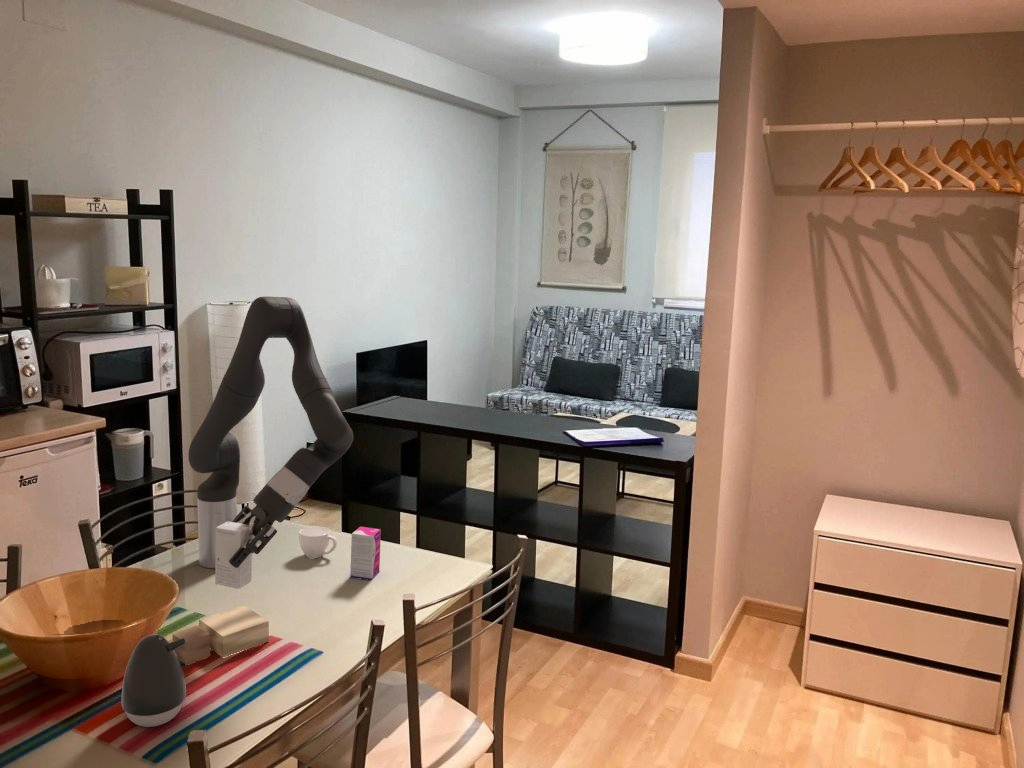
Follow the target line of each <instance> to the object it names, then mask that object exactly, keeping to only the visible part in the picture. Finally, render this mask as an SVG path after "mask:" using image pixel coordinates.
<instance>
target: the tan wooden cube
mask: <svg viewBox="0 0 1024 768" xmlns="http://www.w3.org/2000/svg"><path fill="white" fill-rule="evenodd" d="M171 637H172V642H173V641H176V640H179V639H182V638H184V639H185V641H186V643H185V644H184V645H182V646H180V647H178V648H176V649H174V650H175V652H176V654H177V656H178V659H179V660H181V661H182V662H183V663H185V664H187V665H188V664H191V663H193V662H196V661H198V660H201V659H203V658H206V657H208V656H210V657H211V649H210V634H209V633H208V632H206V631H204V630H203V629H201V628H199V626H198V625H193V626H192V627H188V628H185V629H183V630H180V631H178V632H174V633H172V635H171ZM206 659H207V658H206ZM201 661H202V660H201ZM183 663H182V664H183ZM196 663H197V662H196ZM191 665H192V664H191Z"/></svg>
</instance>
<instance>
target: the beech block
mask: <svg viewBox="0 0 1024 768" xmlns="http://www.w3.org/2000/svg"><path fill="white" fill-rule="evenodd" d="M198 627H199V628H201V629H203V630H204V631H206V632H208V633H209V634H210V648H211V649H213V650H214V651H215V652H217V653H218V654H219V655H221V656H222V657H226V656H229V655H231V654H234V653H237V652H240V651H242V650H245V649H249V648H252V647H254V646H257V645H260V644H263V643H266V642H269V643H270V629H269V628H270V622H269V620H268V619H266V618H265V617H263V616H261V615H260V614H259V613H257V612H256V611H254V610H253V609H251V608H250V607H248V606H246V605H245V604H243V605H240V606H235V607H233V608H229V609H227V610H223V611H220V612H217V613H214V614H210V615H208V616H204V617H201V618H198ZM266 644H267V643H266ZM263 645H264V644H263ZM260 646H261V645H260ZM211 649H210V650H211ZM252 649H253V648H252ZM249 650H250V649H249ZM214 651H213V652H214ZM215 652H214V653H215ZM218 654H217V655H218ZM219 655H218V656H219ZM222 657H221V658H222Z"/></svg>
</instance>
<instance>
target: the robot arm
mask: <svg viewBox="0 0 1024 768" xmlns="http://www.w3.org/2000/svg"><path fill="white" fill-rule="evenodd" d="M248 307H249V308H248V310H247V312H246V315H245V318H244V321H243V326H242V327H241V331H240V335H239V338H238V342H237V345H236V346H235V347H236V348H235V350H234V352H233V355H232V357H231V359H230V363H229V364H228V367H227V369H226V371H225V373H224V374H223V378H222V379H221V383H220V385H219V387H218V390H217V392H216V394H215V397H214V399H213V402H212V403H211V405H210V408H209V410H208V412H207V414H206V416H205V417H204V420H203V421H202V423H201V425H200V426H199V428H198V429H197V431H196V433H195V434H194V436H193V438H192V440H191V442H190V444H189V448H188V453H187V455H188V462H189V463H188V464H189V466H190V467H191V468H192V470H193V471H194V472H196V473H199V474H209V473H211V474H210V475H209V477H208V478H207V479H205V480H204V481H203V482H201V483H200V484H199V485H198V487H197V490H196V491H197V493H196V494H197V495H196V496H197V497H196V498H197V499H196V500H197V525H198V526H197V527H198V563H199V565H200V566H201V567H203V568H207V569H215V558H216V557H215V556H216V527H218V526H220V525H222V524H224V523H225V522H228V521H229V522H234V523H242V524H245V525H249V528H248V530H247V532H246V534H245V538H246V539H245V541H244V543H243V545H242V547H243V548H242V547H240V548H239V549H238V551H237V552H236V553H235V554H234V555H233V556H232V557H231V559H230V560H229V563H230V564H231V565H232V566H234V567H235V568H238V567H239V566H240V565H241V564H242V562H243V561H244V560H245V559H246V558H247V557H248V555H249V554H250V553H251V554H252V555H253V554H256V555H259V554H260V553H261V551H262V550H263V549H264V548H265V547H266V546H267V544H268V543H269V542H271V540H272V539H273V538H274V537H275V535H276V534H277V533H278V530H277V529H276V528H275V527H274V526H273V524H274V523H275V521H276V522H278V523H283V522H284V521H285V520H286V518H287V517H288V516H289V515H290V513H291V512H292V511H294V509H295V507H297V506H298V505H299V503H300V501H302V499H303V498H304V497H305V495H306V494H307V493H308V491H309V489H310V488H311V487H312V485H314V484H315V482H316V481H317V480H318V479H319V477H320V476H321V475H322V474H323V473H324V472H325V471H326V470H327V469H328V468H330V467H331V466H332V465H334V464H335V463H336V462H337V461H338V460H340V459H341V458H342V457H343V455H345V454H346V453H347V451H349V448H350V447H352V443H353V441H354V432H353V429H352V427H350V424H349V423H348V422H347V419H346V417H345V416H344V415H343V412H342V411H341V409H340V407H339V405H338V404H337V402H336V397H335V394H334V392H333V390H332V388H331V387H330V384H329V382H328V380H327V378H326V376H325V374H324V372H323V370H322V368H321V367H322V366H321V365H320V363H319V360H318V357H317V354H316V350H315V346H314V343H313V340H312V336H311V333H310V330H309V327H308V326H309V325H308V322H307V320H306V316H305V315H304V314H305V313H304V311H303V309H302V307H301V305H300V304H299V302H298V301H297V300H296V299H295V298H292V297H288V296H287V297H286V296H285V297H284V296H259V297H257V298H255V299H254V300H253V301H252V302H251V303H250V305H249V306H248ZM282 338H283V339H284V338H285V339H286V340H287V341H288V343H289V344H290V346H291V349H292V351H293V362H292V363H293V364H292V370H291V382H292V386H293V389H294V392H295V393H296V395H297V398H298V400H299V402H300V404H301V406H302V408H303V409H304V411H305V413H306V416H307V418H308V422H309V424H310V427H311V429H312V431H313V433H314V436H315V437H316V439H315V440H314V441H313V442H312V443H311V444H310V445H309V446H308V447H302V448H299V449H297V450H296V451H295V452H294V453H293V454H292V456H291V457H290V458H289V459H288V460H287V462H286V463H285V464H284V465H283V466H282V467H281V468H280V469H279V470H277V472H276V473H275V474H274V475H273V476H272V477H271V478H270V479H269V480H268V481H267V483H266V484H265V485H264V486H263V487H262V488H261V489H260V491H258V493H257V494H256V496H255V497H253V500H252V502H253V504H255V505H256V506H255V507H253V508H251V507H249V506H248V505H245V506H244V507H243V508H242V509H241V510H240V511H239V512H238V509H237V503H238V501H237V492H238V491H237V490H238V487H239V484H240V467H241V466H240V465H241V450H240V445H239V441H238V439H237V437H236V436H235V435H234V434H233V433H232V432H230V431H232V429H234V428H235V427H236V426H237V425H238V424H239V423H240V422H241V421H243V420H244V418H245V417H247V416H248V415H249V414H250V412H252V411H253V409H254V408H255V407H256V404H257V403H258V401H259V399H260V396H261V394H262V392H263V390H264V387H265V384H266V378H265V373H264V368H263V366H262V362H261V353H262V350H263V347H264V345H265V342H266V341H267V340H268V339H282ZM250 541H251V542H250ZM249 542H250V543H249Z"/></svg>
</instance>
